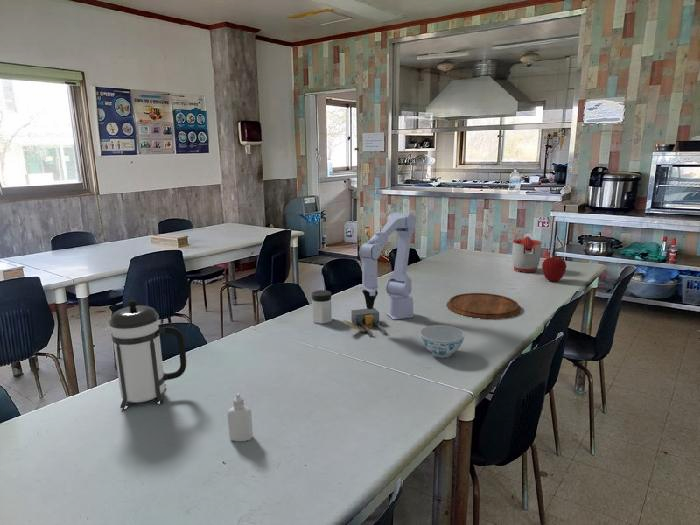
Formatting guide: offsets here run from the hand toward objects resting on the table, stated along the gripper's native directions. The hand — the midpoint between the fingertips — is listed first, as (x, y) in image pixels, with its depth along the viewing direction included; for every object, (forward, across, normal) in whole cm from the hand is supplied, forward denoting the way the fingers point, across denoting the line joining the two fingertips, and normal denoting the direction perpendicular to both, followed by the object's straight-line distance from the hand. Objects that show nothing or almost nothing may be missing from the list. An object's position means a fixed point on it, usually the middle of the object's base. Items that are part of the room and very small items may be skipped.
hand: (369, 308), depth 188 cm
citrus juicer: (+9, -81, +102) cm, 130 cm away
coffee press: (+10, +42, -72) cm, 84 cm away
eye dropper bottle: (+10, +67, -42) cm, 80 cm away
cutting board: (+10, -22, +54) cm, 59 cm away
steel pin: (+10, -12, -1) cm, 15 cm away
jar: (+10, -16, -18) cm, 26 cm away
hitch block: (+10, -4, +1) cm, 10 cm away
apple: (+9, -58, +106) cm, 121 cm away
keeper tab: (+7, 0, -6) cm, 10 cm away
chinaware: (+10, +24, +22) cm, 34 cm away
